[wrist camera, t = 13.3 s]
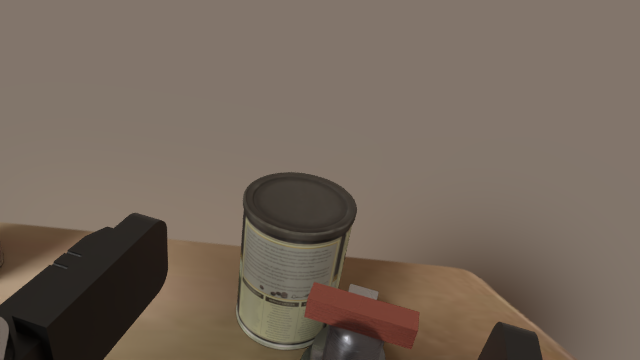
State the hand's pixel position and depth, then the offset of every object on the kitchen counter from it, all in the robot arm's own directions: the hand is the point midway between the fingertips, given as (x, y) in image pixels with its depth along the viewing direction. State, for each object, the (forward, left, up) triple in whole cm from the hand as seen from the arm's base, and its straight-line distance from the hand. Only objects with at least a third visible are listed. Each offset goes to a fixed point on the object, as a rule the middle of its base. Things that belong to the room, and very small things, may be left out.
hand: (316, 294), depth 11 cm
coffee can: (-22, +15, -28) cm, 39 cm away
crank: (-11, +15, -26) cm, 32 cm away
